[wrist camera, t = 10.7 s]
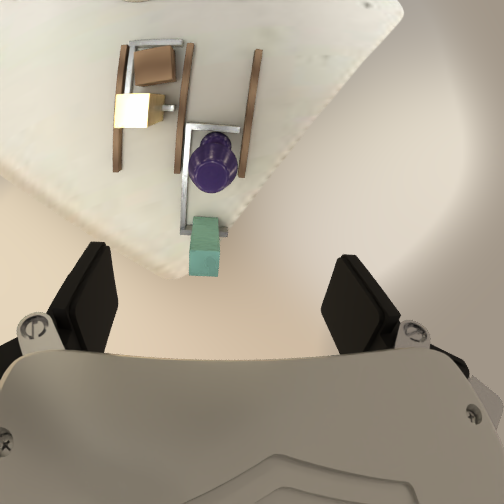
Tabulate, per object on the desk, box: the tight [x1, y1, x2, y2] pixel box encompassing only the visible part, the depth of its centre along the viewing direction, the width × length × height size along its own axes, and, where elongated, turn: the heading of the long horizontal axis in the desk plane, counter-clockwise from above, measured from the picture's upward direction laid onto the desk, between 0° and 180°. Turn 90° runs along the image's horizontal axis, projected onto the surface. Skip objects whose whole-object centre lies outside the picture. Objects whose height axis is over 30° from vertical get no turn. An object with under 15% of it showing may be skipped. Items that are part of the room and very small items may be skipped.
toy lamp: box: [188, 132, 238, 193], centre depth 30 cm, size 5×5×17 cm
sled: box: [114, 39, 184, 128], centre depth 27 cm, size 11×7×10 cm, turn 172°
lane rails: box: [113, 43, 263, 178], centre depth 33 cm, size 18×18×2 cm
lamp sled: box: [180, 122, 240, 277], centre depth 35 cm, size 17×7×10 cm, turn 172°
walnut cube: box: [134, 45, 176, 87], centre depth 28 cm, size 4×4×4 cm
